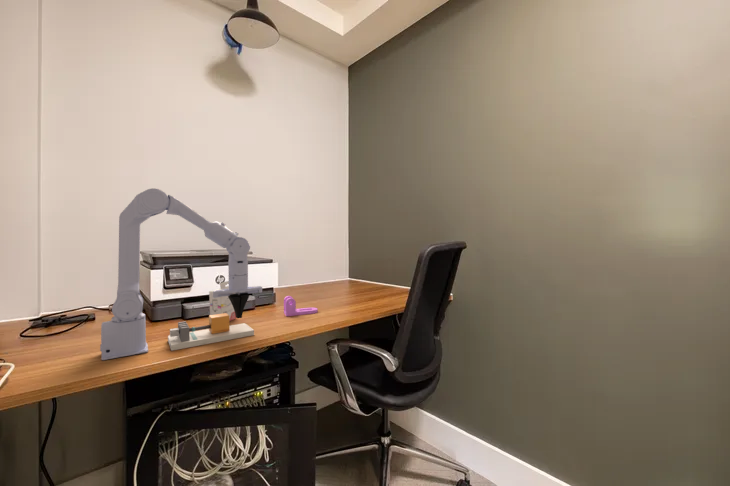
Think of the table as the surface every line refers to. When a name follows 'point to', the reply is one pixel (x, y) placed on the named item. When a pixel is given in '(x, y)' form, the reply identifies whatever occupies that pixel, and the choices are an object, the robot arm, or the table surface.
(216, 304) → the ink cartridge box
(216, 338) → the board
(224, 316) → the orange block
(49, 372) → the table surface
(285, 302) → the bracket
